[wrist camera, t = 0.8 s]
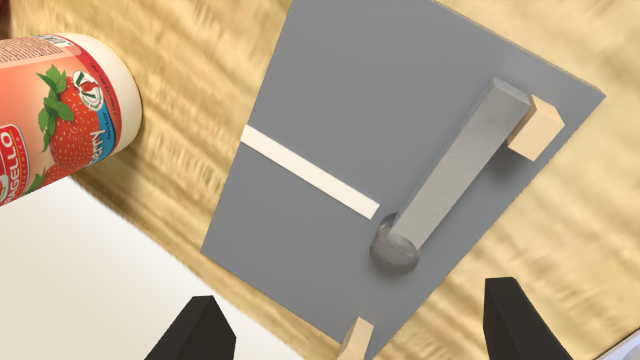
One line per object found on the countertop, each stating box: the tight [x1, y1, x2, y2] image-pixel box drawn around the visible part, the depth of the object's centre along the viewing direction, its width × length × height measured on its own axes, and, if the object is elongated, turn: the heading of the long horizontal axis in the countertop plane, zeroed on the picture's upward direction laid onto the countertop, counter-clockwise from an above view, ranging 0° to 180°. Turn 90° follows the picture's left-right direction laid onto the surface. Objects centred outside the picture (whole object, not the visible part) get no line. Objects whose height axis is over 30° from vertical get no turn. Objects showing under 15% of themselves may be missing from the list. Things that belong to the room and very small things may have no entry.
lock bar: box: [370, 75, 531, 275], centre depth 22 cm, size 12×3×2 cm, turn 155°
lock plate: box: [200, 0, 606, 360], centre depth 26 cm, size 16×24×4 cm, turn 155°
